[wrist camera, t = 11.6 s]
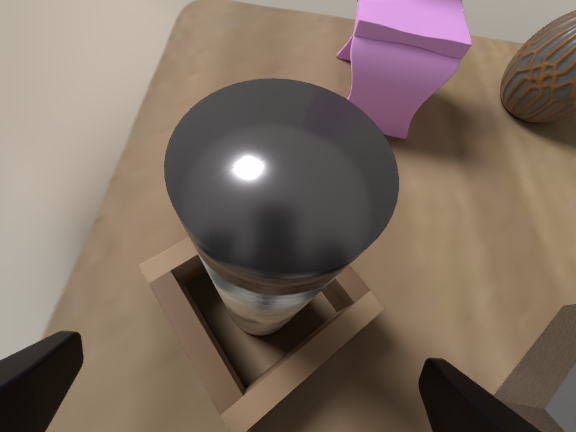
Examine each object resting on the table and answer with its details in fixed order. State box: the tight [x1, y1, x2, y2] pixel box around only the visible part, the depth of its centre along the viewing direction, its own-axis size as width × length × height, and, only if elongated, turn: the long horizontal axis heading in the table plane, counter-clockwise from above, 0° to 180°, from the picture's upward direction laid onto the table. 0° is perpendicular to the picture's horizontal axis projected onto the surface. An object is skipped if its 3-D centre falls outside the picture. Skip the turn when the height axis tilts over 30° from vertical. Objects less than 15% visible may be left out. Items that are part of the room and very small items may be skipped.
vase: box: [500, 10, 576, 122], centre depth 22 cm, size 7×7×9 cm
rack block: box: [139, 237, 385, 432], centre depth 14 cm, size 8×8×3 cm
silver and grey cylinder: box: [164, 79, 399, 335], centre depth 10 cm, size 4×4×12 cm
